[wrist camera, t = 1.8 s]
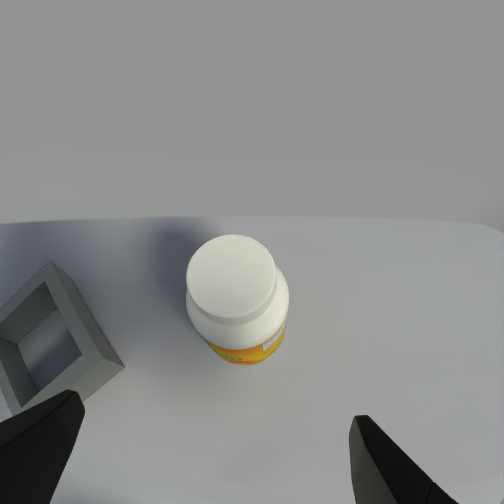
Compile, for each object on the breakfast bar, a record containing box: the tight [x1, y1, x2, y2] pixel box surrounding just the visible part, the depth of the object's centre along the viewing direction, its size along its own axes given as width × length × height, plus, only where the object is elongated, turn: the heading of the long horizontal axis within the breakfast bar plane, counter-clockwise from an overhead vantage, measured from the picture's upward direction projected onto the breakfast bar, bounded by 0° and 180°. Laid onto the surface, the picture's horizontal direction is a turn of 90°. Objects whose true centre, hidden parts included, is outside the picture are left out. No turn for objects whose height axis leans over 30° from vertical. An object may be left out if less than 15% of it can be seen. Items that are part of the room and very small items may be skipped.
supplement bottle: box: [186, 234, 289, 366], centre depth 18 cm, size 5×5×10 cm
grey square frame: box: [0, 261, 125, 416], centre depth 20 cm, size 10×10×4 cm
